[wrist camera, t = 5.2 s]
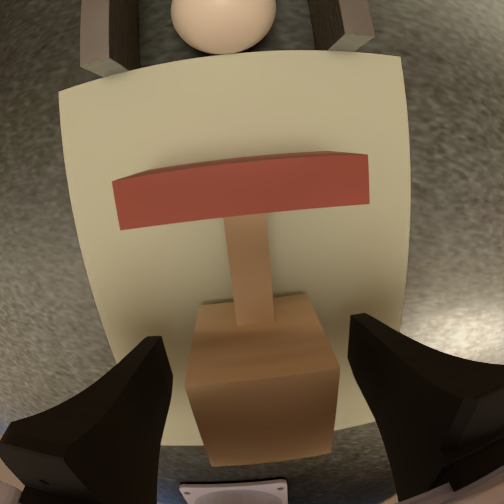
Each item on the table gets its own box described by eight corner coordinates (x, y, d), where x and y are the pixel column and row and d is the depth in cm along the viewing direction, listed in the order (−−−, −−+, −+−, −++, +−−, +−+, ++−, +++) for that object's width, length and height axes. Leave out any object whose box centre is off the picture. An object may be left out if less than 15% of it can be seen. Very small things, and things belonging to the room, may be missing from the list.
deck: (373, 402, 17) (381, 419, 15) (157, 426, 16) (153, 445, 15) (384, 64, 11) (400, 56, 9) (75, 96, 11) (58, 91, 9)
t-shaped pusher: (329, 370, 13) (359, 446, 9) (193, 386, 13) (182, 466, 9) (328, 150, 10) (386, 156, 6) (148, 169, 10) (94, 187, 6)
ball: (278, -54, 6) (265, -21, 9) (158, -42, 6) (175, -12, 9) (288, 45, 8) (273, 55, 11) (166, 57, 8) (183, 64, 11)
